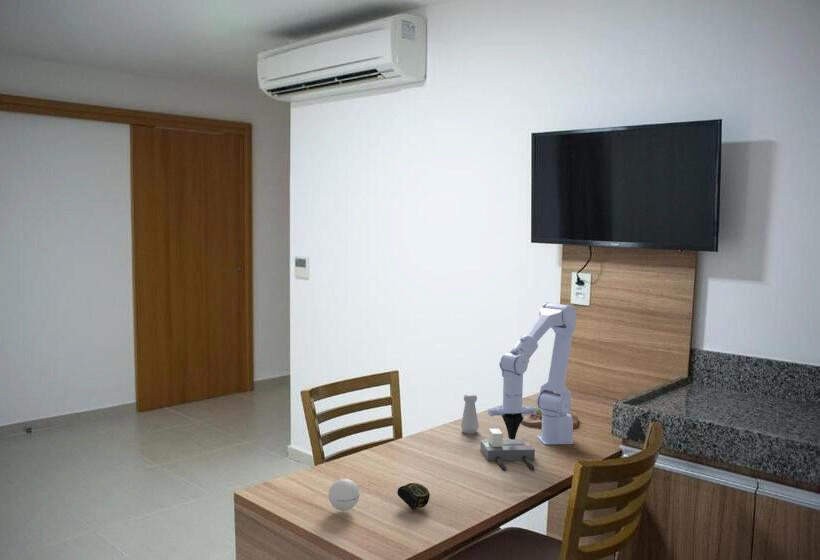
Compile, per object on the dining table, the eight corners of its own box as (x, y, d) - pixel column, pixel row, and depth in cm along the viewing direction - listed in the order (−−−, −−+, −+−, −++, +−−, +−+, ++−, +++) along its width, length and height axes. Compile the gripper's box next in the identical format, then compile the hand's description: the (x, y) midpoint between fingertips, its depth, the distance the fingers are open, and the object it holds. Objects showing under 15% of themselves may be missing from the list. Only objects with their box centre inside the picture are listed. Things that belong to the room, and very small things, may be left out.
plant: (584, 421, 241) (585, 390, 240) (571, 435, 223) (572, 402, 223) (530, 413, 250) (531, 383, 249) (513, 426, 233) (514, 394, 232)
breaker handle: (498, 441, 204) (498, 428, 204) (502, 446, 199) (502, 433, 199) (488, 441, 204) (489, 428, 203) (492, 447, 199) (492, 433, 198)
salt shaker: (478, 430, 226) (479, 392, 225) (478, 436, 220) (479, 396, 219) (461, 430, 226) (461, 391, 225) (460, 435, 221) (461, 396, 220)
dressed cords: (526, 459, 198) (526, 455, 198) (535, 470, 189) (535, 465, 189) (495, 459, 197) (495, 455, 197) (502, 470, 188) (502, 466, 188)
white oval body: (327, 516, 157) (328, 485, 156) (328, 503, 164) (328, 474, 163) (371, 515, 158) (371, 485, 157) (369, 502, 165) (370, 473, 164)
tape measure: (394, 497, 165) (397, 483, 164) (417, 493, 169) (420, 479, 168) (409, 513, 159) (413, 499, 159) (432, 508, 163) (436, 495, 162)
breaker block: (525, 448, 208) (525, 438, 208) (534, 459, 198) (534, 449, 198) (480, 449, 206) (480, 439, 206) (487, 460, 196) (487, 450, 196)
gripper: (530, 389, 206) (529, 433, 207) (485, 391, 203) (484, 435, 204) (539, 395, 199) (538, 440, 200) (492, 397, 196) (491, 442, 197)
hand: (511, 438), depth 202 cm, fingers closed
